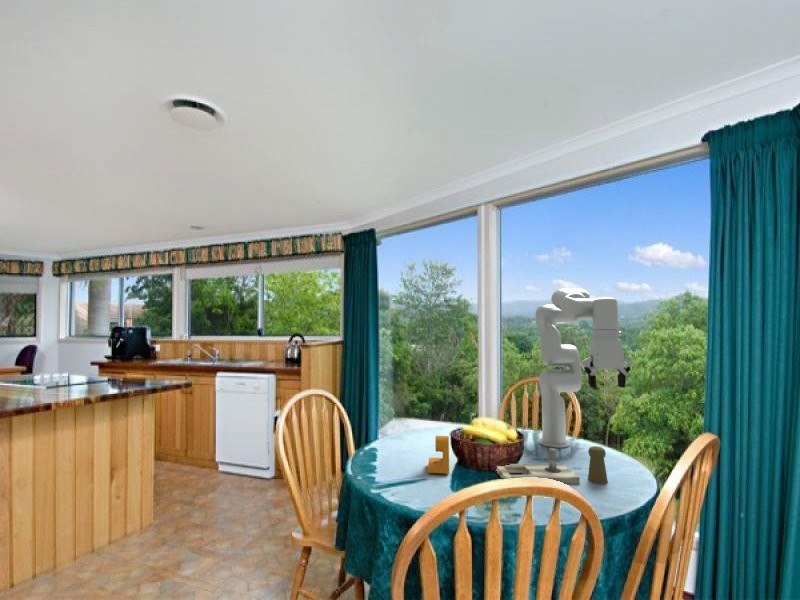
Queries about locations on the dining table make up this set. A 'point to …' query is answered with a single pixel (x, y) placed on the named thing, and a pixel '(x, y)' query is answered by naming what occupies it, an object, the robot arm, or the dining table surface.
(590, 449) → the olive rounded piece
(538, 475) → the beige panel with knob
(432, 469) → the bracket
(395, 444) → the dining table surface
